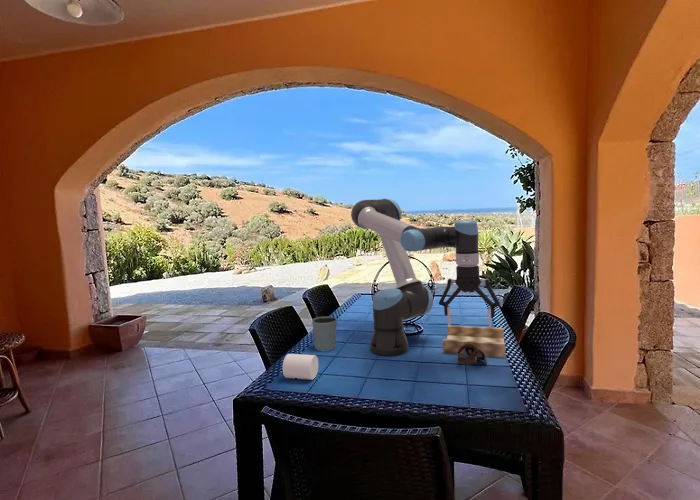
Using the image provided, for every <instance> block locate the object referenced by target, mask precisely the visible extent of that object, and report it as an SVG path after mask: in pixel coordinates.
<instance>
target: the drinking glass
mask: <svg viewBox="0 0 700 500" xmlns="http://www.w3.org/2000/svg"><path fill="white" fill-rule="evenodd" d="M337 320H338V319H337V317H335V316H328V315H327V316H317V317H314V318H313V319H312V320H311V325H312V331H313V339H314V348H316V349H318V350H331V349H334V348H335V347H336V348H337V324H338V323H337V322H338V321H337ZM336 348H335V349H336ZM316 349H315V350H316ZM335 349H334V350H335ZM331 351H332V350H331Z"/></svg>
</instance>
